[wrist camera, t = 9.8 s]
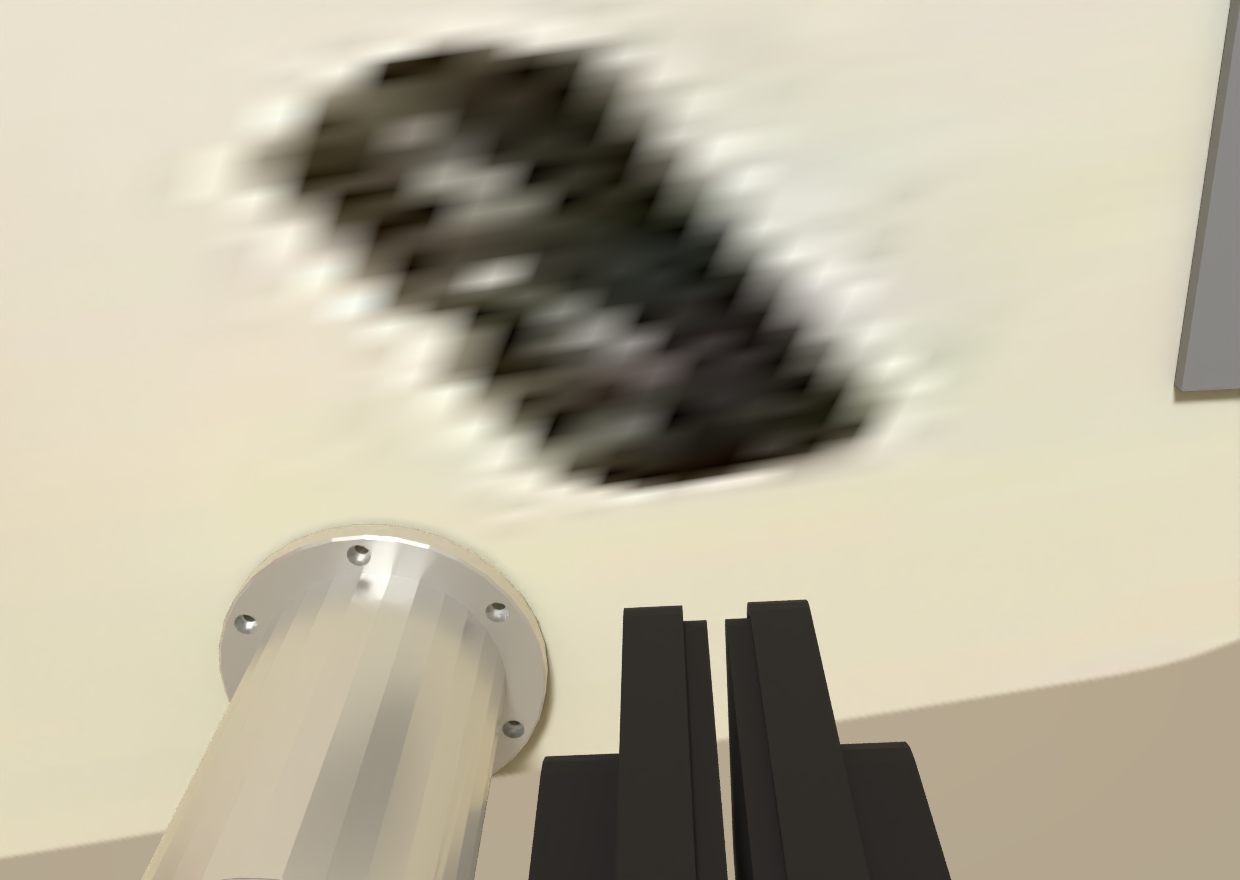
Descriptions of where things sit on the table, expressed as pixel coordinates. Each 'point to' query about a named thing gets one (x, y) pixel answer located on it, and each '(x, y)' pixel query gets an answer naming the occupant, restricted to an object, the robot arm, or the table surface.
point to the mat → (1217, 244)
